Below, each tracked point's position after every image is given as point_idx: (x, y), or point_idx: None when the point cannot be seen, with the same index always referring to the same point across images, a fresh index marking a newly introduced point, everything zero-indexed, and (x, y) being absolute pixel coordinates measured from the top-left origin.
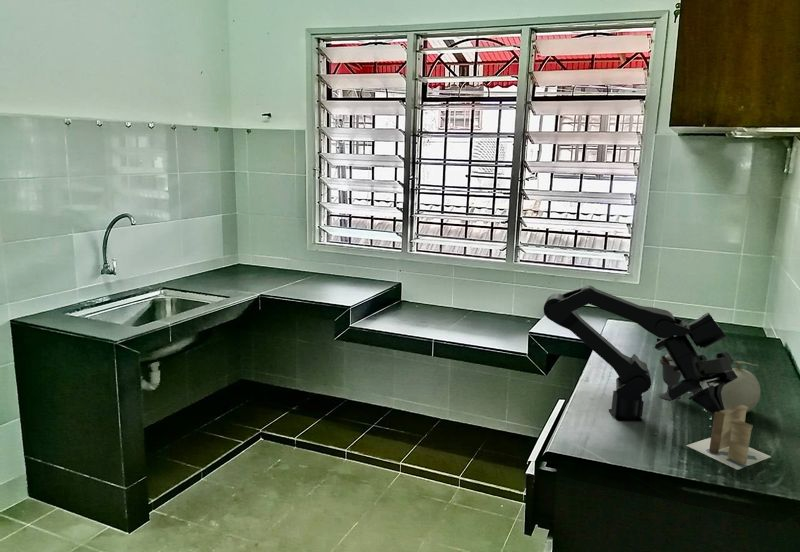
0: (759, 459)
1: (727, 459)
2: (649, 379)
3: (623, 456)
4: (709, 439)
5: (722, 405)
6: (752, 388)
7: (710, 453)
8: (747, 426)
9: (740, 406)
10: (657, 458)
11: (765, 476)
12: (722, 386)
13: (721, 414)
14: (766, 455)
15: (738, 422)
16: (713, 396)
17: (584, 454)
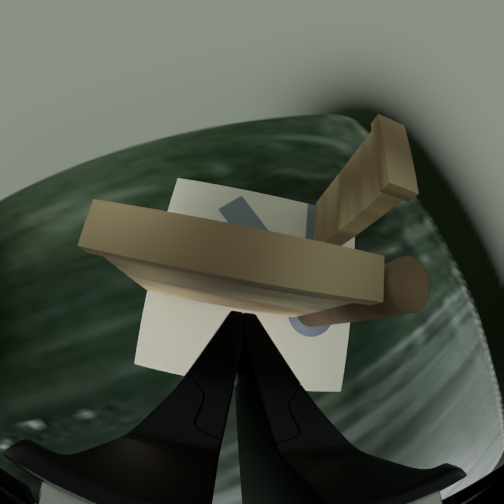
0: (230, 193)
1: None
2: None
3: (475, 408)
4: None
5: (215, 358)
6: None
7: None
8: (404, 131)
9: (130, 236)
10: (447, 375)
11: (313, 161)
12: (81, 461)
13: (413, 265)
14: (180, 189)
15: (412, 165)
16: (300, 441)
17: (496, 433)
